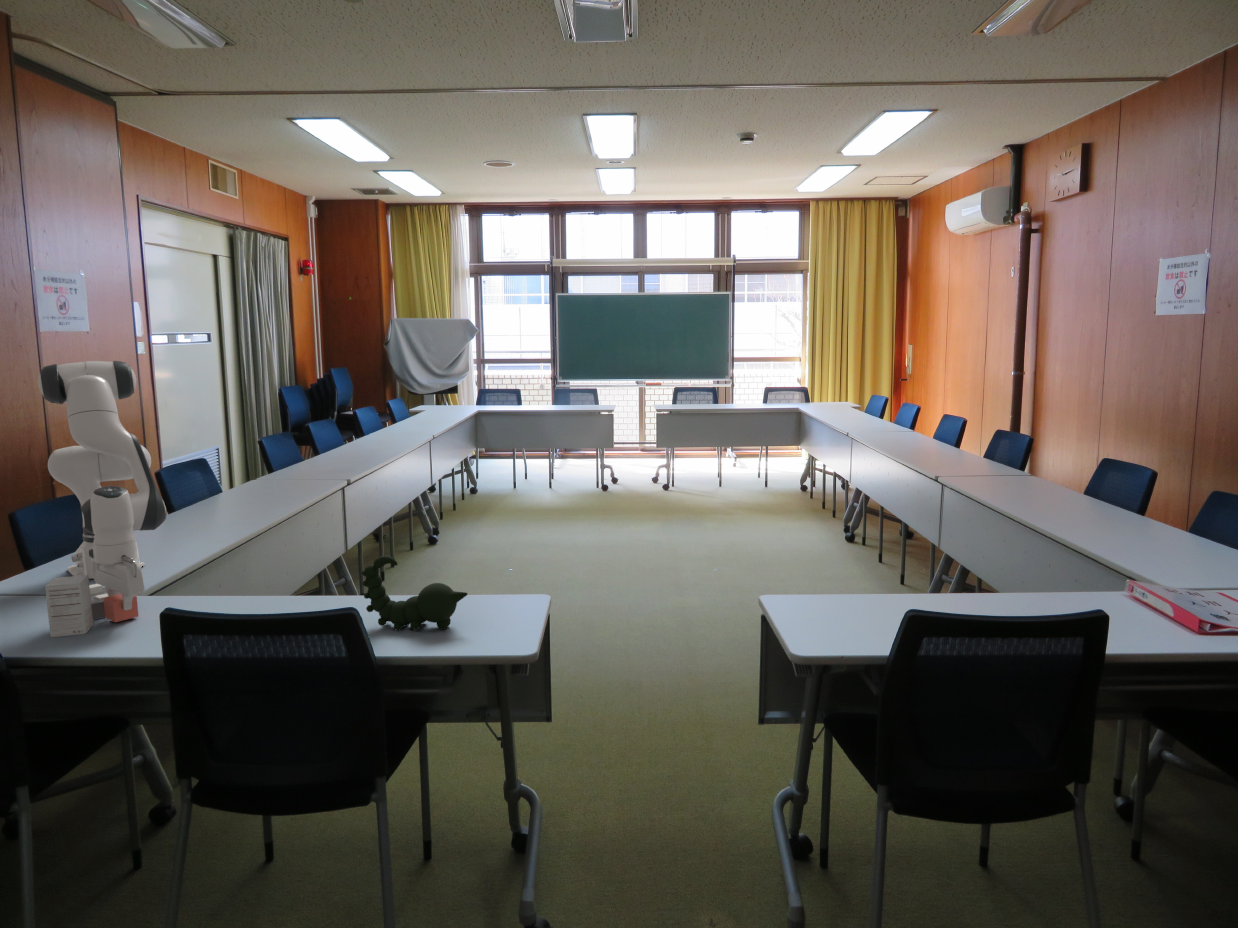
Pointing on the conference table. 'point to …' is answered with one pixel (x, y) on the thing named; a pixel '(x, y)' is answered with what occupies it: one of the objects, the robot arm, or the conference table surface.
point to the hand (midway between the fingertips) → (120, 606)
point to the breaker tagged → (101, 596)
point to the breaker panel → (98, 606)
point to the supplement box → (69, 605)
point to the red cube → (119, 608)
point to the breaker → (95, 589)
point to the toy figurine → (409, 601)
